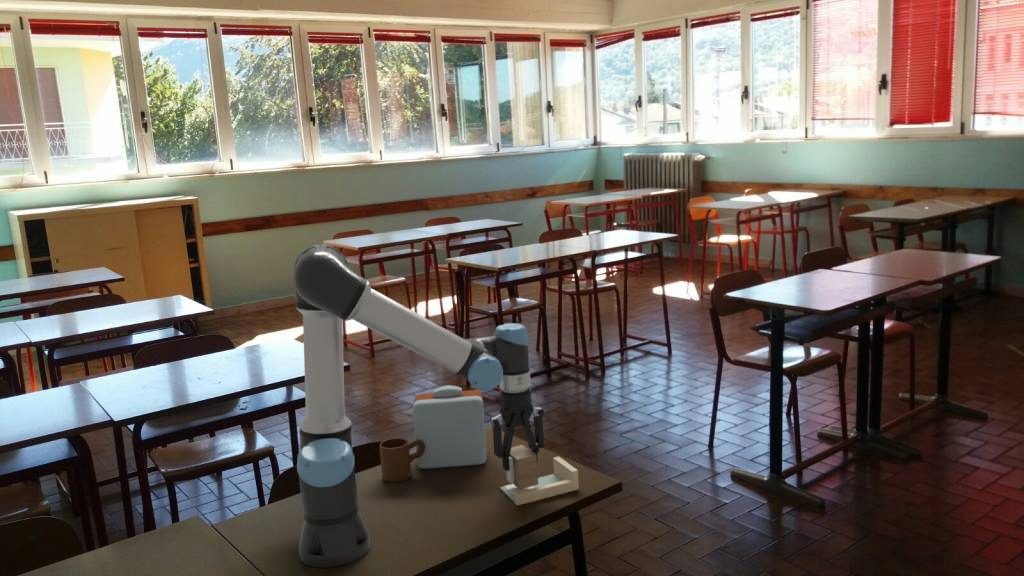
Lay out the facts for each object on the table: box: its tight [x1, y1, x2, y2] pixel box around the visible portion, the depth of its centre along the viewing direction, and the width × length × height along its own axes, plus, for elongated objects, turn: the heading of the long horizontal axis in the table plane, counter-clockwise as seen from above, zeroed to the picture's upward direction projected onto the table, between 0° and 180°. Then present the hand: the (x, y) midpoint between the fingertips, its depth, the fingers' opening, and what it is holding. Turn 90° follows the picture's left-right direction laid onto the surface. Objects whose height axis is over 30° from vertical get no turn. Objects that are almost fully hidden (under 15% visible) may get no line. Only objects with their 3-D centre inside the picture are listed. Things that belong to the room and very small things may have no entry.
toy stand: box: [499, 456, 580, 506], centre depth 200 cm, size 17×10×5 cm, turn 114°
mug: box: [379, 437, 425, 483], centre depth 212 cm, size 12×8×9 cm, turn 112°
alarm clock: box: [412, 384, 488, 469], centre depth 219 cm, size 18×9×21 cm, turn 93°
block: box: [505, 444, 539, 489], centre depth 198 cm, size 8×5×8 cm, turn 24°
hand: (521, 478), depth 199 cm, fingers closed on block, 5 cm apart
